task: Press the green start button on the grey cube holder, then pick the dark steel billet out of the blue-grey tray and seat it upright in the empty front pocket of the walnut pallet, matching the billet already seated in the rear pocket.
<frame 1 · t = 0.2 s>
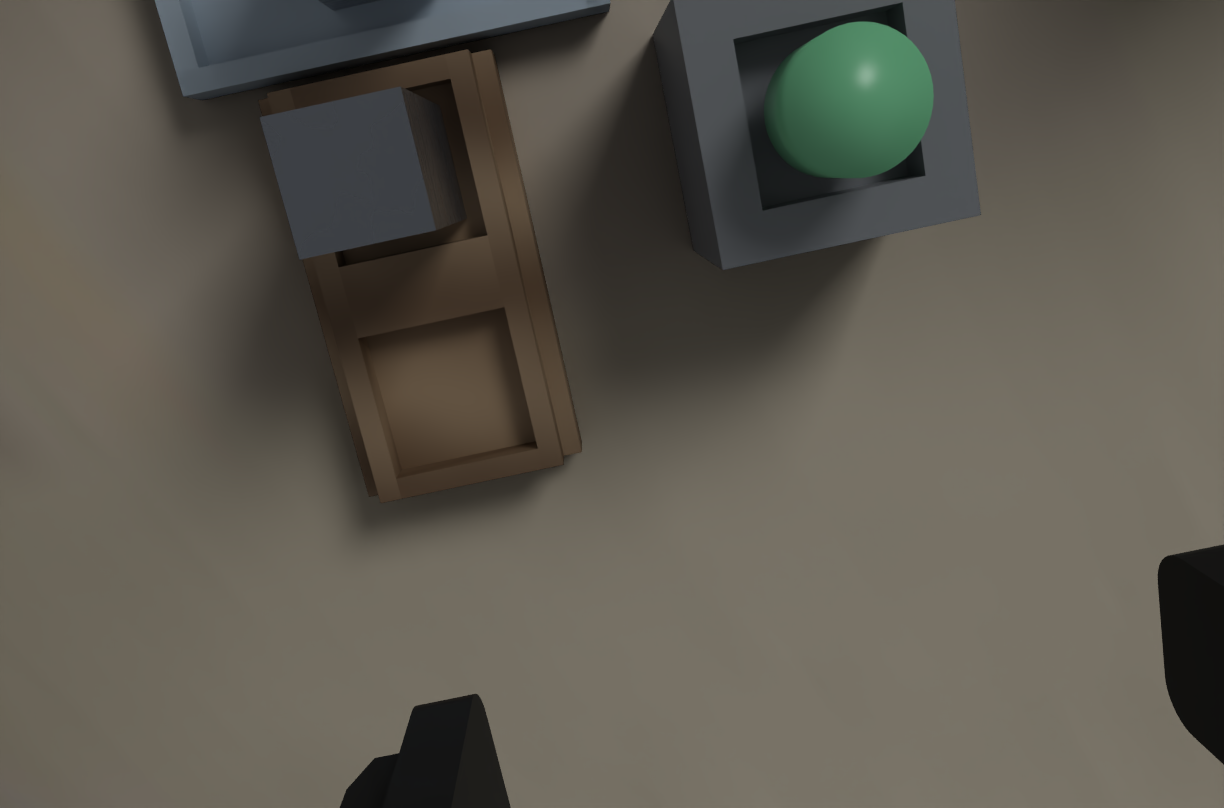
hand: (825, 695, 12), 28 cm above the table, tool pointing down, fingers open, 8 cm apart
seated billet: (399, 174, 36), point 1 cm above the table, touching pallet
grey cube holder: (778, 122, 37), on the table
start button: (844, 105, 28), point 9 cm above the table, slide at 0.0 cm
pallet: (432, 279, 38), on the table
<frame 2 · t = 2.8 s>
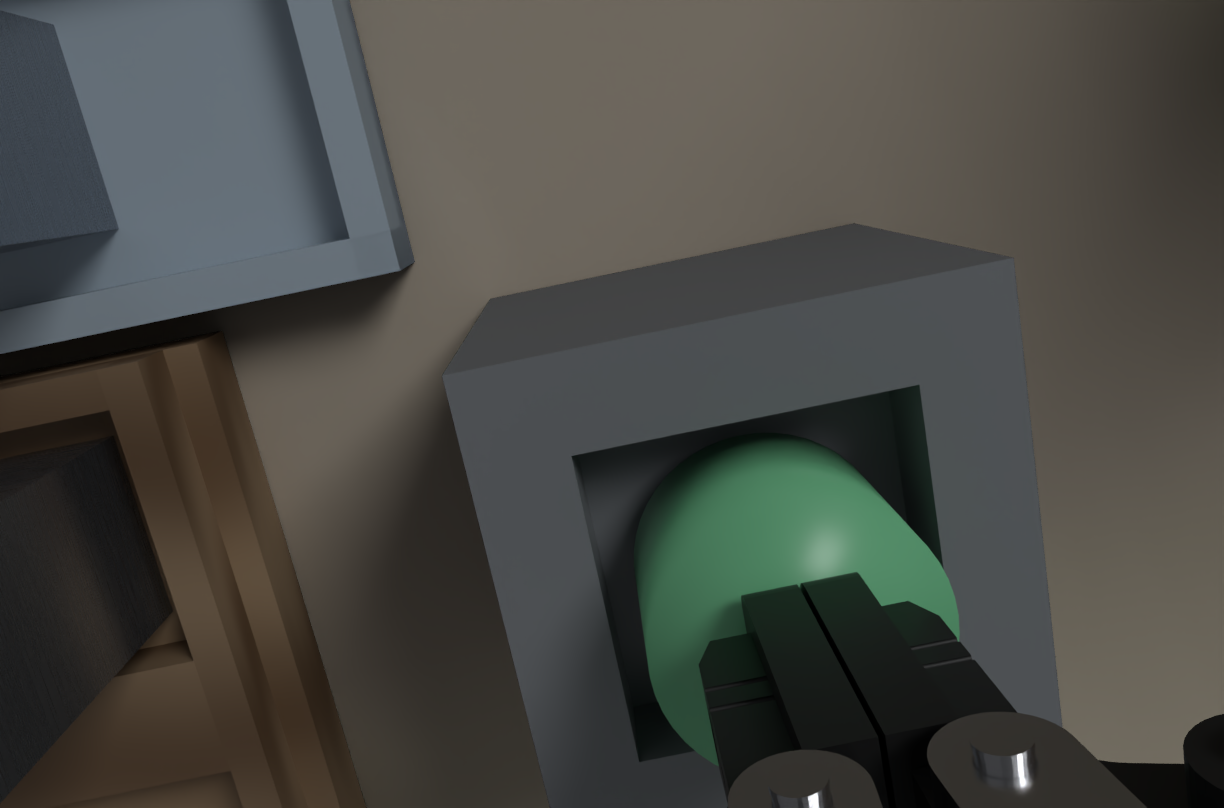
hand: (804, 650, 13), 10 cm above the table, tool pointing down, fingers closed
seated billet: (51, 544, 21), point 1 cm above the table, touching pallet
grey cube holder: (704, 436, 22), on the table
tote: (6, 150, 20), on the table
start button: (780, 596, 14), point 9 cm above the table, slide at 1.0 cm, touching gripper
pallet: (141, 677, 23), on the table
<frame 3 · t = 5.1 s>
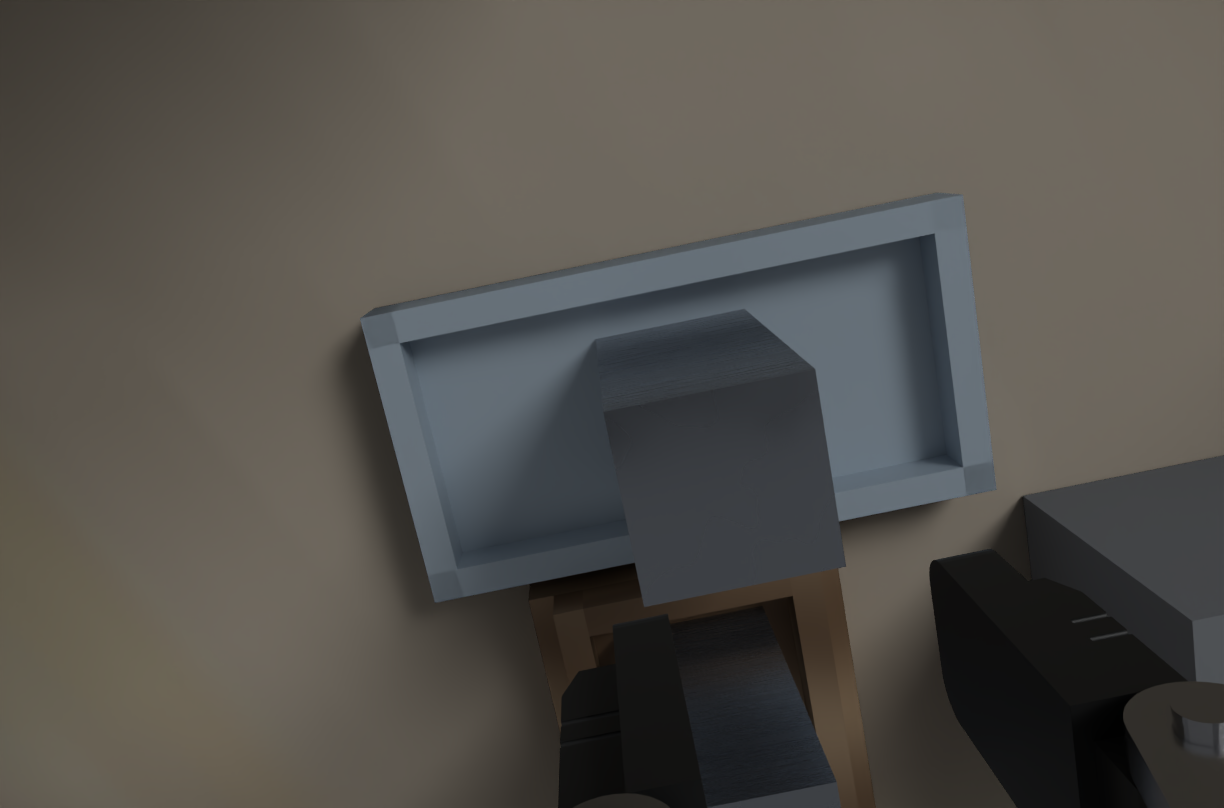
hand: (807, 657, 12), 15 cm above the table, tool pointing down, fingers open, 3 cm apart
seated billet: (703, 684, 28), point 1 cm above the table, touching pallet
billet: (683, 396, 27), point 1 cm above the table, touching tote
grey cube holder: (1170, 595, 29), on the table
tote: (681, 391, 27), on the table
pallet: (720, 776, 30), on the table
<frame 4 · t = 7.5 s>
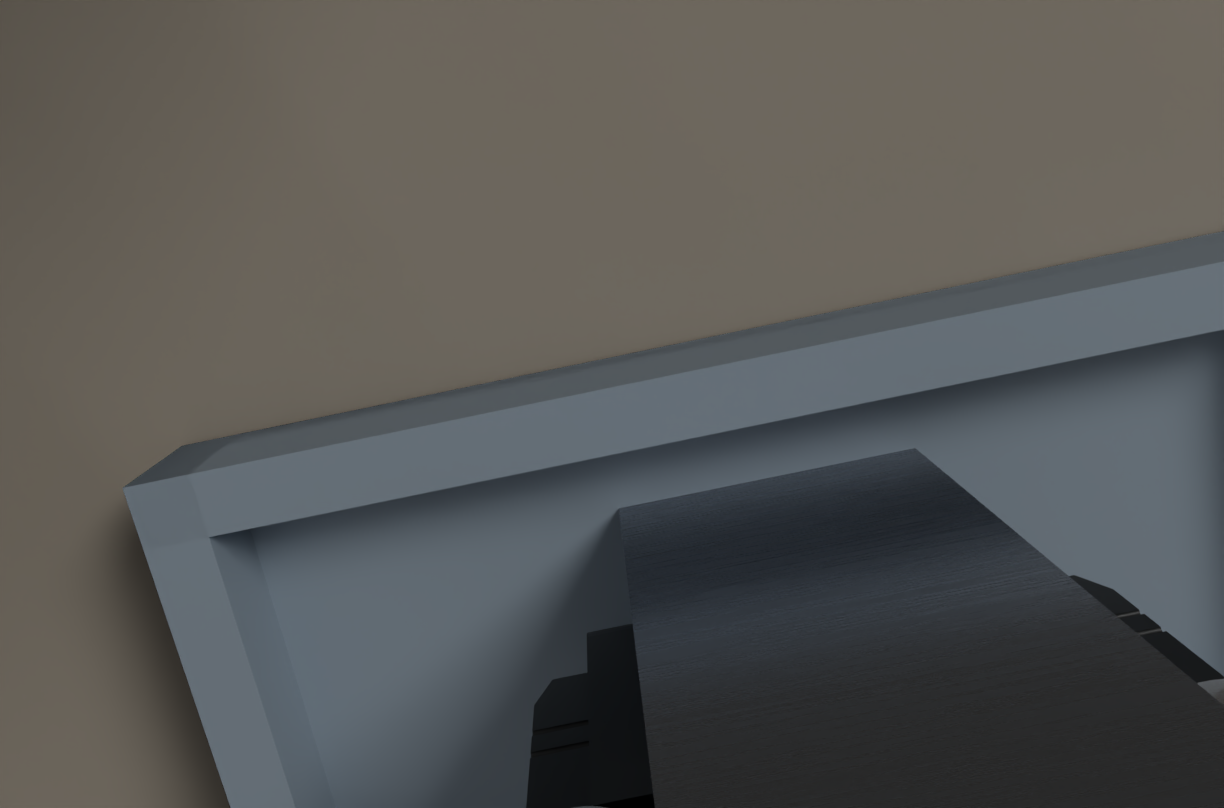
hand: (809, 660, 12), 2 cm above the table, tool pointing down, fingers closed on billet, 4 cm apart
billet: (790, 614, 14), point 1 cm above the table, touching gripper, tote
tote: (781, 595, 14), on the table
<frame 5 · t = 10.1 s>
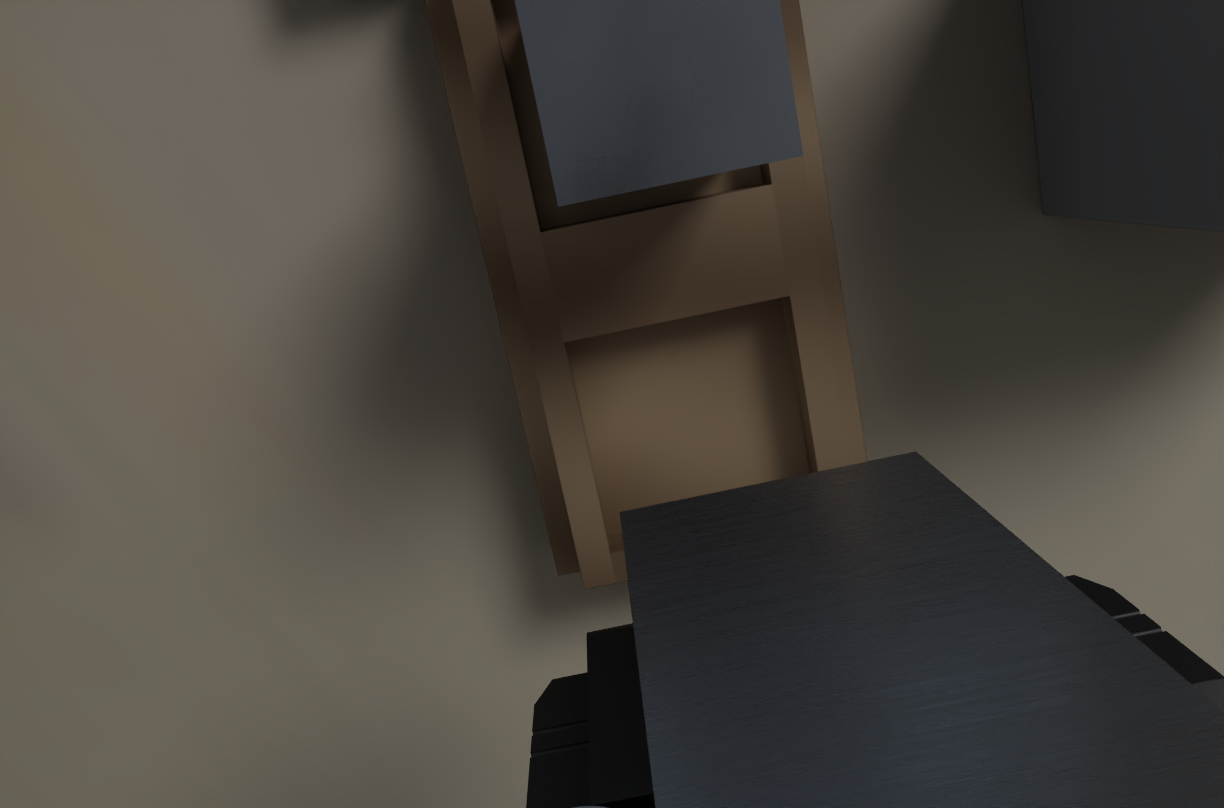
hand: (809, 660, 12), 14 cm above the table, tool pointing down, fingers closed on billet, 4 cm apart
seated billet: (630, 91, 23), point 1 cm above the table, touching pallet
billet: (790, 617, 14), point 13 cm above the table, touching gripper
grey cube holder: (1186, 21, 25), on the table
pallet: (657, 254, 26), on the table
when the fingers open (3 cm above the table, at t = 12.9 s): billet stays where it is, resting on pallet.
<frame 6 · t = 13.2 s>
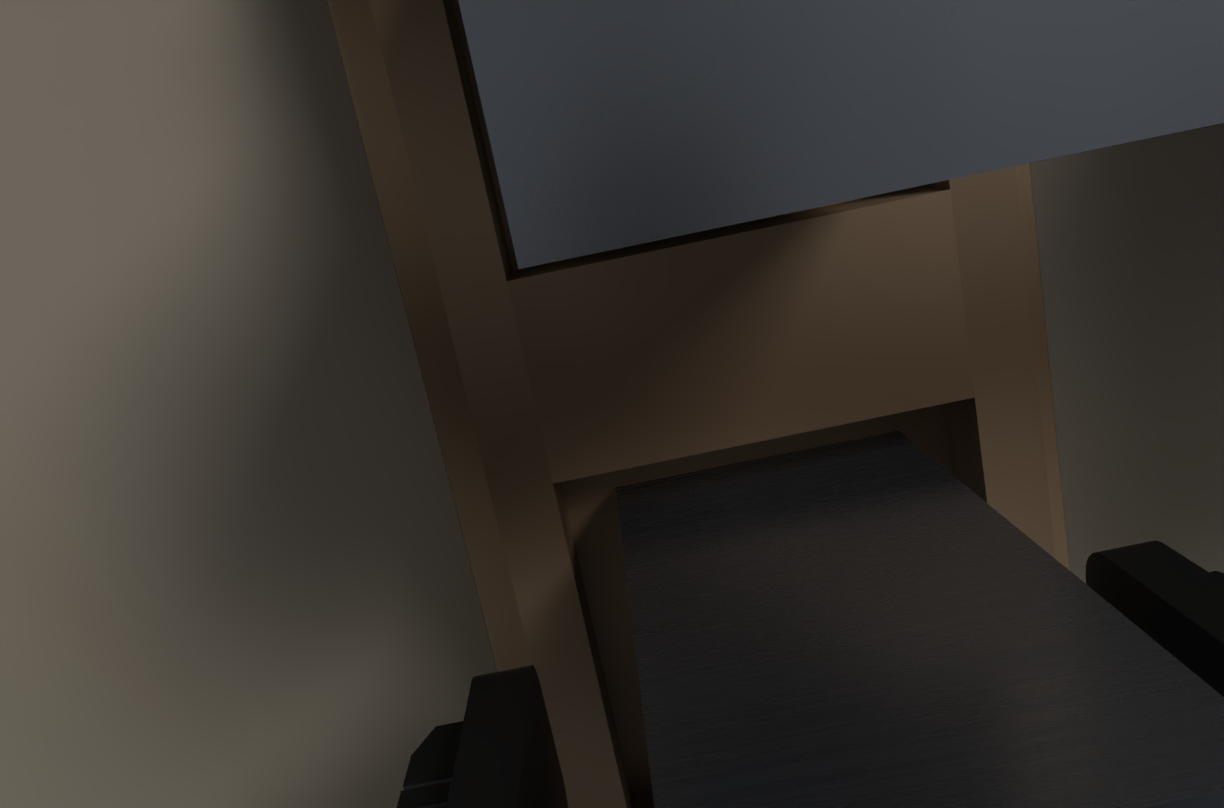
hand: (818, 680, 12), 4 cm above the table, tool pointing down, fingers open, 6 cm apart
seated billet: (676, 14, 12), point 1 cm above the table, touching pallet
billet: (779, 589, 14), point 1 cm above the table, touching pallet
pallet: (715, 309, 15), on the table
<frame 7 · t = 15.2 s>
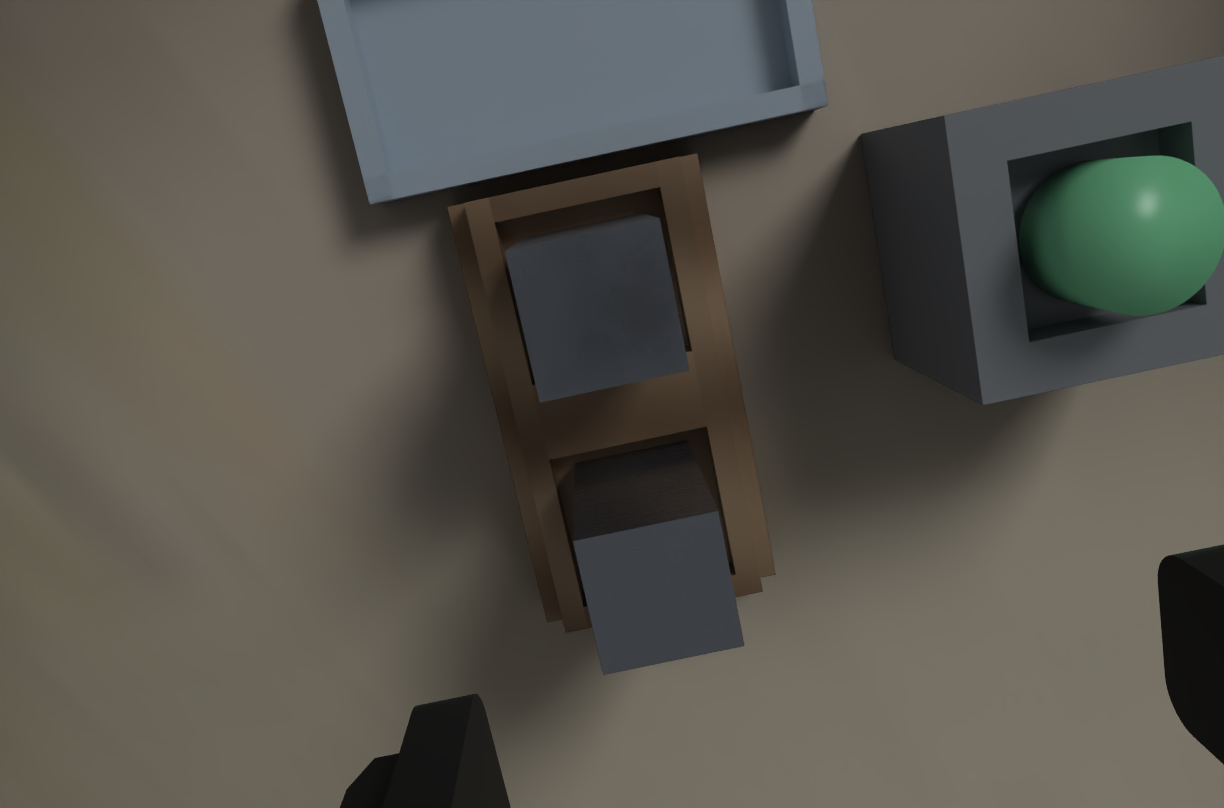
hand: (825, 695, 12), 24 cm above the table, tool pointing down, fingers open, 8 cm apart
seated billet: (594, 284, 33), point 1 cm above the table, touching pallet
billet: (642, 505, 35), point 1 cm above the table, touching pallet
grey cube holder: (990, 225, 35), on the table
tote: (572, 39, 33), on the table
start button: (1117, 234, 27), point 8 cm above the table, slide at 1.1 cm
pallet: (617, 390, 36), on the table
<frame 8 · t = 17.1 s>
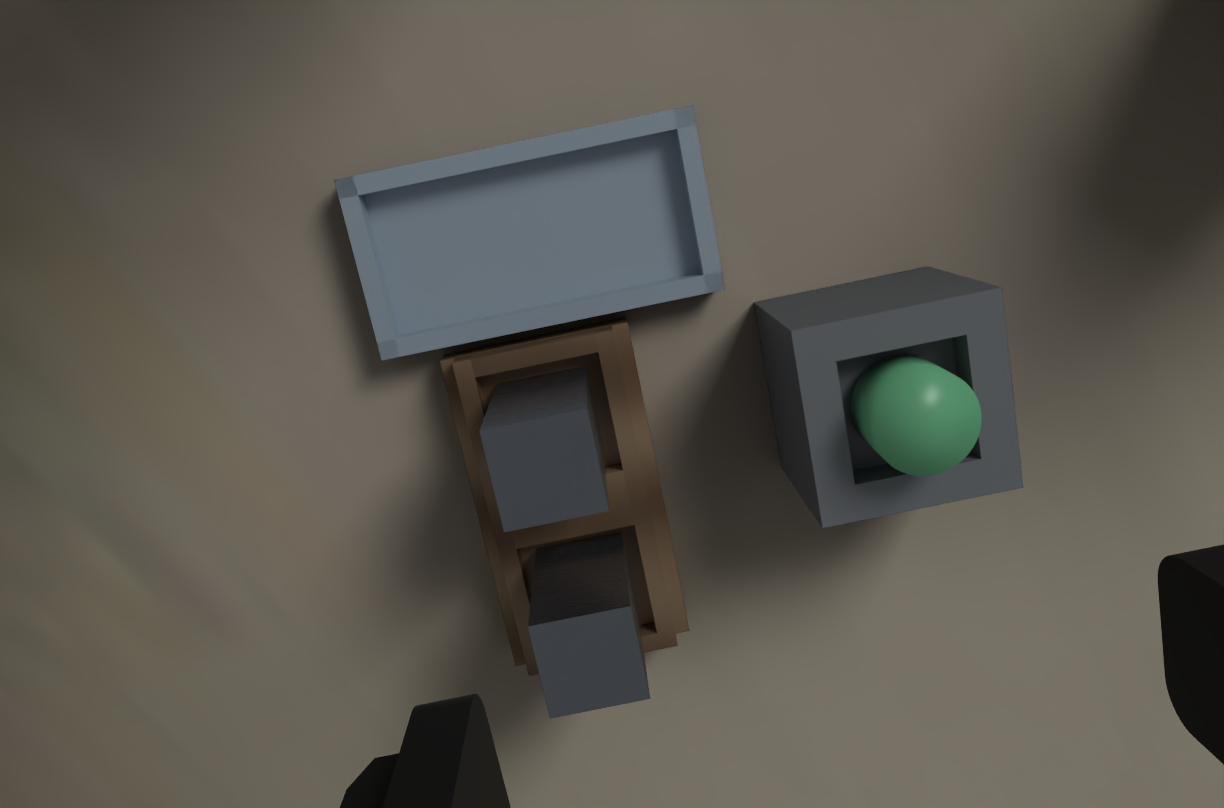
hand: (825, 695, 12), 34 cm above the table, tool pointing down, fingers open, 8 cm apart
seated billet: (550, 417, 44), point 1 cm above the table, touching pallet
billet: (587, 579, 46), point 1 cm above the table, touching pallet
grey cube holder: (853, 369, 46), on the table
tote: (535, 233, 44), on the table
start button: (913, 413, 38), point 8 cm above the table, slide at 1.1 cm
pallet: (569, 490, 47), on the table
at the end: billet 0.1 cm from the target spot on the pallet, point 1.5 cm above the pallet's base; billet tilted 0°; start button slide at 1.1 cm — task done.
